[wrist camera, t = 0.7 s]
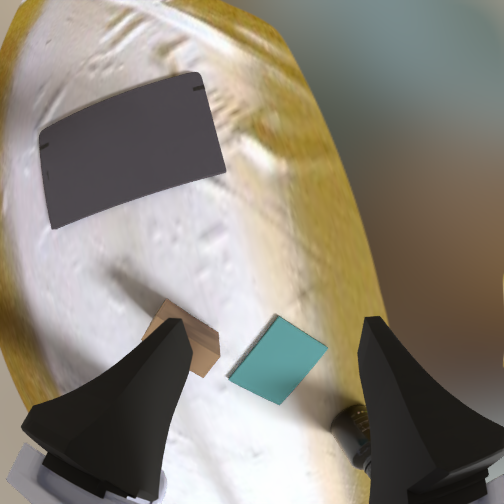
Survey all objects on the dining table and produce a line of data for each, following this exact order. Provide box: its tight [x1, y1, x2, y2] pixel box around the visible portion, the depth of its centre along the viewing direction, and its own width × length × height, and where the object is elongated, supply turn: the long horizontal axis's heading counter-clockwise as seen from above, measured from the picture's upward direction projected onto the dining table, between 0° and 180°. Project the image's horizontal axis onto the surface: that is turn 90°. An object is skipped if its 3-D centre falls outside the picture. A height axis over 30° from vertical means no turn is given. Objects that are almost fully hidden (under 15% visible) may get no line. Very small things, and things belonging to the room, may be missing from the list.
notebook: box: [39, 72, 226, 229], centre depth 27 cm, size 13×2×21 cm
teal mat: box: [229, 316, 328, 405], centre depth 32 cm, size 10×8×1 cm
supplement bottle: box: [331, 405, 371, 479], centre depth 29 cm, size 7×7×12 cm
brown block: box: [141, 298, 220, 378], centre depth 27 cm, size 7×3×6 cm, turn 53°
